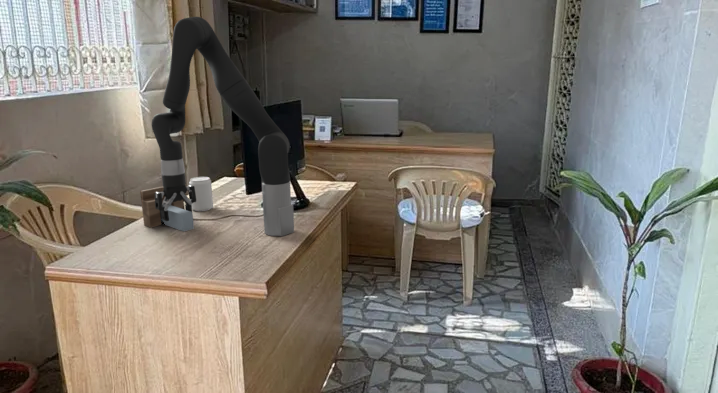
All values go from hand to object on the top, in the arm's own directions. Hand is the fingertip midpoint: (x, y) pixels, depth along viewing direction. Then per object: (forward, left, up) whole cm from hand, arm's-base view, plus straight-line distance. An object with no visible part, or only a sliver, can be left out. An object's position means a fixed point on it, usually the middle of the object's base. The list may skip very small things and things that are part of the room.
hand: (177, 217), depth 184 cm
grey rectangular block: (+2, 0, -3) cm, 4 cm away
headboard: (+10, 0, -3) cm, 10 cm away
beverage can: (+12, -18, -3) cm, 22 cm away
